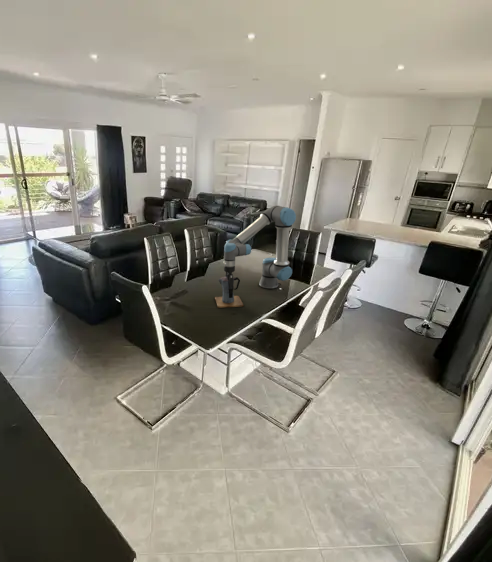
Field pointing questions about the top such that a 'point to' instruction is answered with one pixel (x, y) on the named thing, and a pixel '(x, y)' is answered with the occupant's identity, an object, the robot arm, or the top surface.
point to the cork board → (236, 303)
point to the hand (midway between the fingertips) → (228, 293)
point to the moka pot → (225, 287)
